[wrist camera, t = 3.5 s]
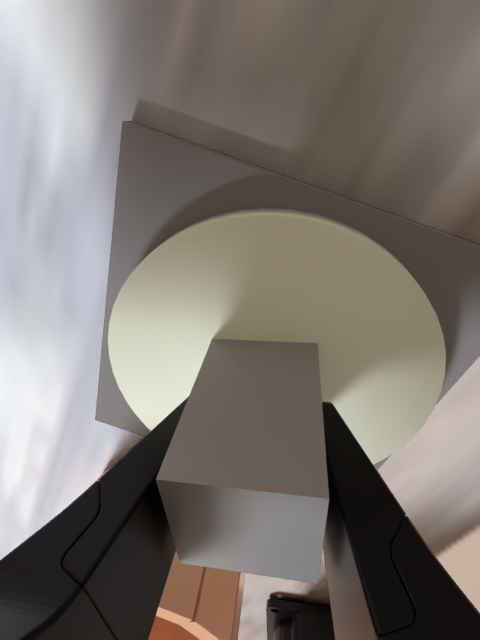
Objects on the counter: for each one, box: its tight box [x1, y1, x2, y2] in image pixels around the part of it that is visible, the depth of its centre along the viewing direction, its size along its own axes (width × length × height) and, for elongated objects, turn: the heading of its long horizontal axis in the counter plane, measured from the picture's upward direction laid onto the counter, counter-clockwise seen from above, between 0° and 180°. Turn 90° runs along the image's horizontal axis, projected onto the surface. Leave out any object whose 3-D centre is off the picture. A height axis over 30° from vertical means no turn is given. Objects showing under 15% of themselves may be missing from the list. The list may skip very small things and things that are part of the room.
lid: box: [108, 208, 446, 584], centre depth 9 cm, size 10×10×5 cm
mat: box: [95, 121, 480, 470], centre depth 11 cm, size 11×11×1 cm
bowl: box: [97, 467, 245, 640], centre depth 15 cm, size 8×8×5 cm
